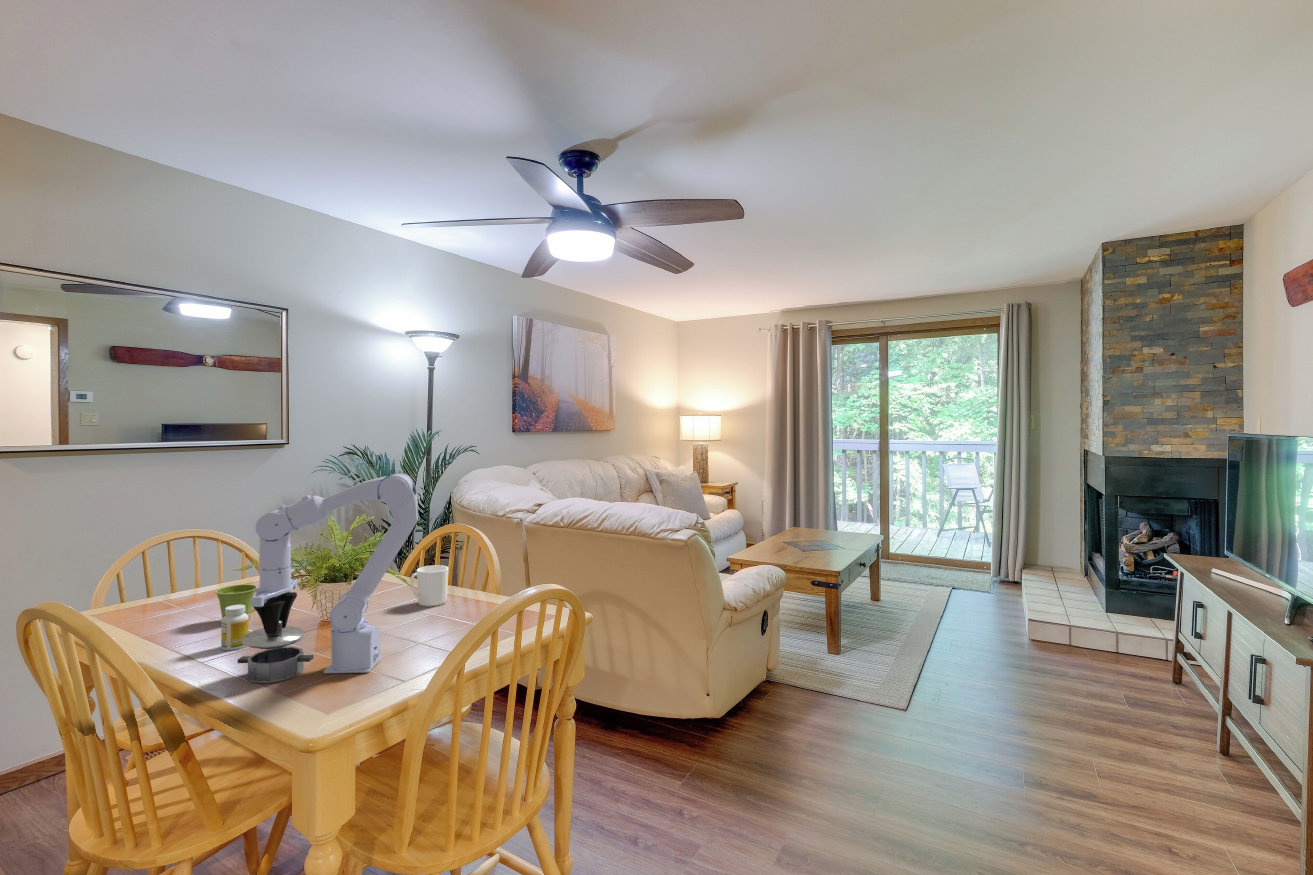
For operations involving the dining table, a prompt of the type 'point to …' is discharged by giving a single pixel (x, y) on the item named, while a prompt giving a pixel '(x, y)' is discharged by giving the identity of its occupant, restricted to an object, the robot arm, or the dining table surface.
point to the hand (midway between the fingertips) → (275, 630)
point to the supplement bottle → (234, 627)
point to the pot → (275, 664)
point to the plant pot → (236, 597)
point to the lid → (273, 637)
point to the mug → (431, 585)
